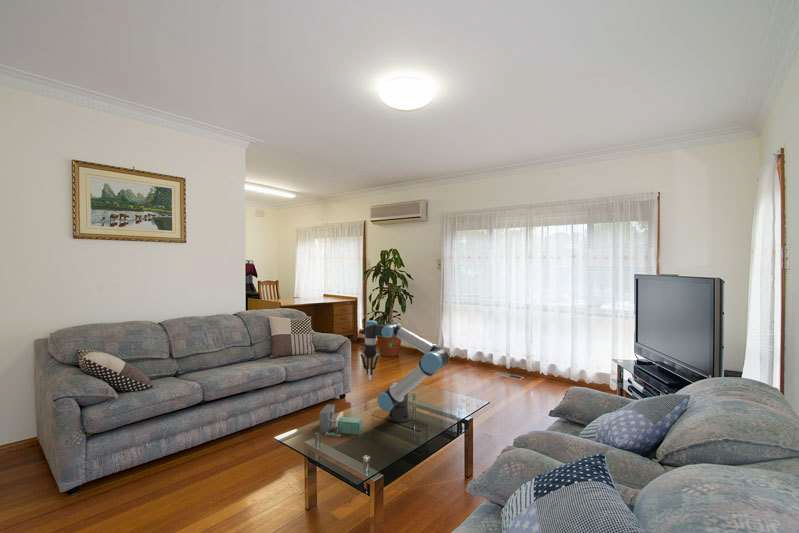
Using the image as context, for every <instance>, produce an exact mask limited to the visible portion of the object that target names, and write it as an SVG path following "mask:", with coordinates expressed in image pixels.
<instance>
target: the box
mask: <svg viewBox="0 0 799 533" xmlns="http://www.w3.org/2000/svg"><path fill="white" fill-rule="evenodd" d="M362 428H363V419H362V418H359V417H358V418H357V417H349V416H348V417H345V416H343V417H341V418H340V419H339V421H338V433H340V434H347V435H355V436H357V435H358V436H359V435H360V433H361V431H362Z"/></svg>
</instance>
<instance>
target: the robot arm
mask: <svg viewBox="0 0 799 533" xmlns="http://www.w3.org/2000/svg"><path fill="white" fill-rule="evenodd" d="M364 331H365V334H364V335H365V336H364V351H363V353H361V354H360V357H361V360H362V366H363V369H364V370H366V375H367V381H371V379H372V376H373V373H374V372H373V371H374V370H376V366H377V364H378V361H379V360H378V359H379V358H380V354H379V353H378V352H377V337H381V338H385V339H386V338H392V336H394V337H395V338H398V339H400V340H401V341H403V342H404V343H406V344H408V345H410V346H411V347H414V348H415V349H416V350H419V351H420V352H422V353H423V354H424V355H422V357H421V358H420V359H419V360H418V364H417V366H416V367H415V368H413V369H412V370H411V371H410V372H409V373H408V374H406V375H405V376H404V377H403V378H401V380H399V381H398V382H393V383H391V385H390V386H389V387H387V389H385V390H384V391H382V392H380V393H379V394H378V396H377V405H378V407H379V408H380V409H381V410H382V411H383V412H387V419H388V420H389V421H391V422H393V423H399V424H400V423H406V422H408V420H409V419H410V420H411V412H410V409H409V392H411V391H412V390H413V389H415V387H417V386H418V385H420V383H421V382H423V381H424V380H425V379H426V378H427V377H430V378H431V377H432V376H434V375H435V374H436V373H438V371H440V370H441V369H443V368H445V367H446V366H448V364H449V362H450V355H449V353H448V351H447V350H446V349H445V348H443V347H442V346H440V345H438V344H437V343H434V344H433V343H432V342H430V341H428V340H426V339H424V338H422V337H420V336H418V335H417V334H415V333H414V332H412V331H409V329H407V328H404V327H402V324H400V323H399V322H393V323H392V322H391V323H388V324H378V322H377V321H376V320H366V321H365V330H364ZM374 358H375V360H374ZM410 420H409V421H410Z"/></svg>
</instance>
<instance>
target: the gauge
mask: <svg viewBox="0 0 799 533" xmlns="http://www.w3.org/2000/svg"><path fill="white" fill-rule="evenodd" d="M330 420H335V404H327V403H326V405H325V406H323V409H322V410H320V411H319V420H318V421H319V422H318V423H319V425H318V433H319V432H322V433H321V434H324V435H325V436H329V437H330V436H332V437H341V436H342V433H335V434H334V432H329V431H330V430H331V428H332V427H333V426H334V424H335V423H330Z"/></svg>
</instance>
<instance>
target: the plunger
mask: <svg viewBox="0 0 799 533" xmlns="http://www.w3.org/2000/svg"><path fill="white" fill-rule="evenodd" d="M341 417H344V411H341V412H340V413H339V414H338V416H337V417H336V419H334V420H330V423H334V424H335V427H334V430H333V433H334V434H335V433H338V421H339V419H340V418H341Z"/></svg>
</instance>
